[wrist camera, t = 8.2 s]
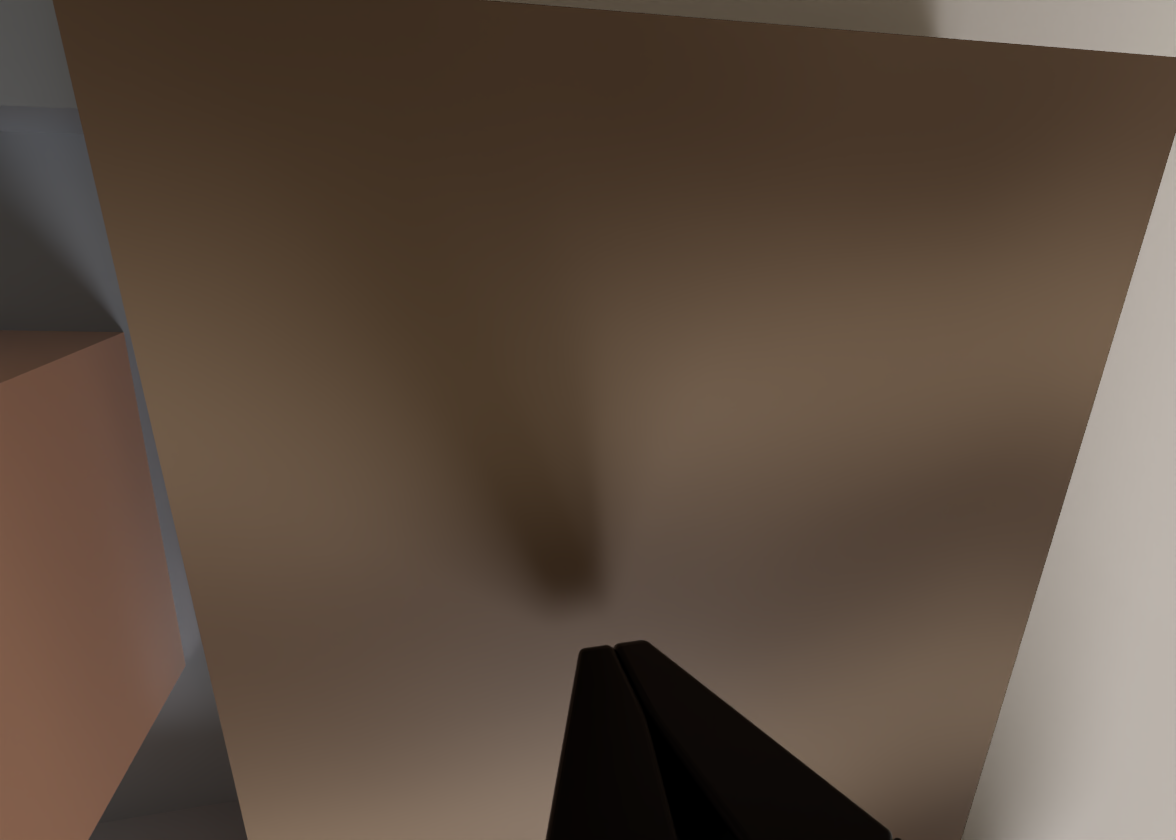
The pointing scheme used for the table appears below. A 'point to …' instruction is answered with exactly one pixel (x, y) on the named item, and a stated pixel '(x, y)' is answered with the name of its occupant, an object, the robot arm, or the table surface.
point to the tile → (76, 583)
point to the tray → (94, 304)
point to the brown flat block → (605, 375)
